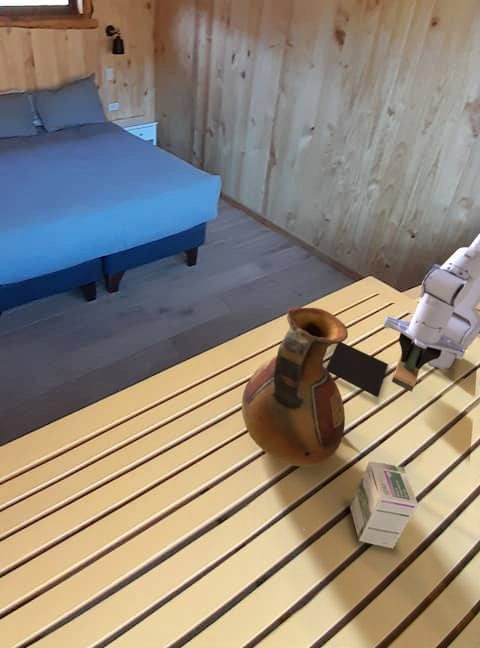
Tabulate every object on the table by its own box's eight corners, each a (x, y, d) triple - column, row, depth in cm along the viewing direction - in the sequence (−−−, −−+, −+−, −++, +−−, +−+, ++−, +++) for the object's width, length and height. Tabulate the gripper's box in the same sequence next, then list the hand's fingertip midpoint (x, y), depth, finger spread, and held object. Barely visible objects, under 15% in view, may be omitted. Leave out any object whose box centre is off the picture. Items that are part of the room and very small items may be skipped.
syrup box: (394, 549, 69) (422, 505, 62) (356, 541, 70) (380, 496, 63) (381, 511, 74) (406, 466, 67) (347, 504, 75) (368, 459, 68)
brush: (399, 357, 99) (411, 329, 94) (418, 366, 96) (432, 338, 92) (391, 381, 93) (404, 352, 88) (411, 391, 90) (425, 362, 86)
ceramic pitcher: (348, 425, 88) (388, 326, 74) (315, 502, 75) (355, 399, 62) (264, 374, 100) (284, 280, 86) (222, 433, 87) (239, 333, 74)
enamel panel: (337, 344, 108) (338, 340, 107) (386, 367, 101) (387, 363, 101) (323, 374, 100) (325, 370, 99) (375, 401, 93) (377, 397, 93)
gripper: (388, 313, 88) (371, 356, 94) (472, 347, 80) (447, 392, 86) (394, 296, 93) (377, 338, 99) (474, 327, 84) (450, 371, 91)
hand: (410, 362), depth 93 cm, fingers closed on brush, 2 cm apart
